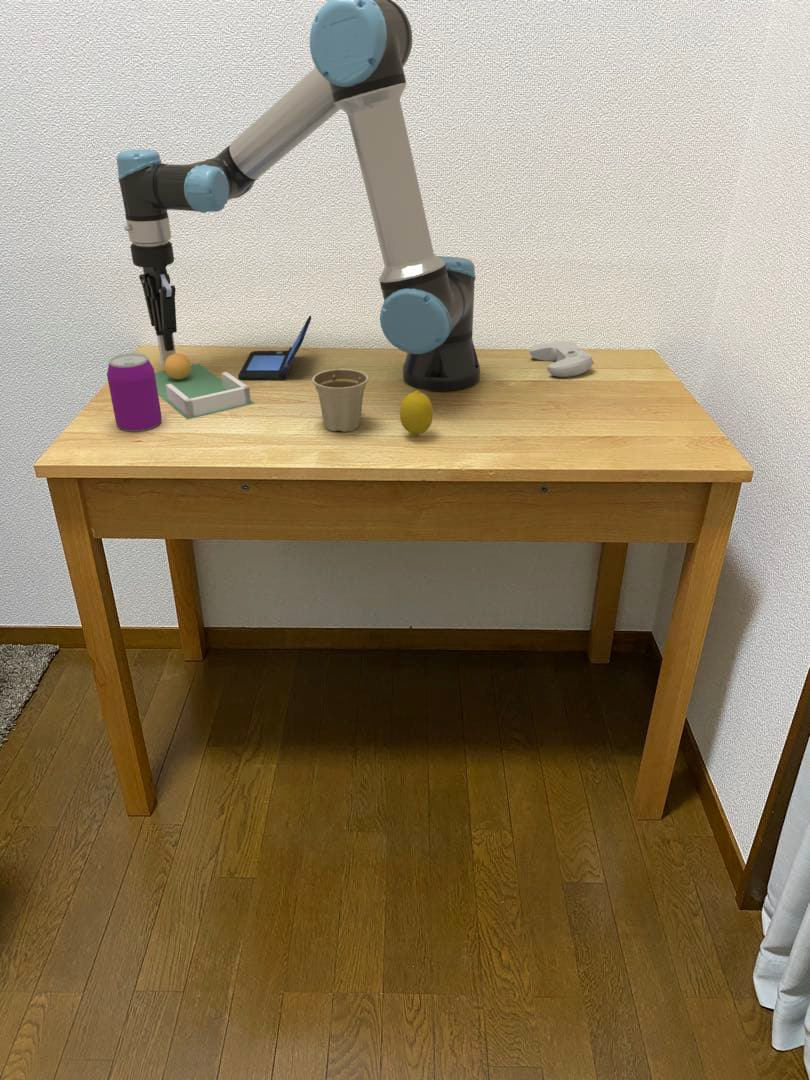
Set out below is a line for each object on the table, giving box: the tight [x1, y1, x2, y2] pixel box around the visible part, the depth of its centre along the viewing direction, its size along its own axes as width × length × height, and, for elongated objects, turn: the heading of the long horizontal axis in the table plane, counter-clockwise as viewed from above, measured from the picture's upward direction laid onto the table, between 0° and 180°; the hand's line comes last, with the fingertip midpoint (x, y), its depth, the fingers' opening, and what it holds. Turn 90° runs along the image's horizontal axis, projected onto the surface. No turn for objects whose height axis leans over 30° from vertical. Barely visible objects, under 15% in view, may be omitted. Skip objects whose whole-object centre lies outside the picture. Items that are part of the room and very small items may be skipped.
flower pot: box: [311, 368, 369, 433], centre depth 145 cm, size 9×9×9 cm
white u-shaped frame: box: [166, 371, 252, 418], centre depth 155 cm, size 10×12×3 cm
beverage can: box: [106, 352, 163, 432], centre depth 145 cm, size 8×8×12 cm
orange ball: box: [164, 352, 192, 380], centre depth 165 cm, size 5×5×5 cm
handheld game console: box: [237, 315, 312, 382], centre depth 170 cm, size 16×13×9 cm
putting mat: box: [155, 363, 255, 420], centre depth 162 cm, size 26×13×1 cm, turn 34°
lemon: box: [399, 390, 434, 437], centre depth 142 cm, size 6×6×8 cm
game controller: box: [529, 340, 595, 378], centre depth 172 cm, size 14×4×10 cm
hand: (169, 364), depth 169 cm, fingers closed
